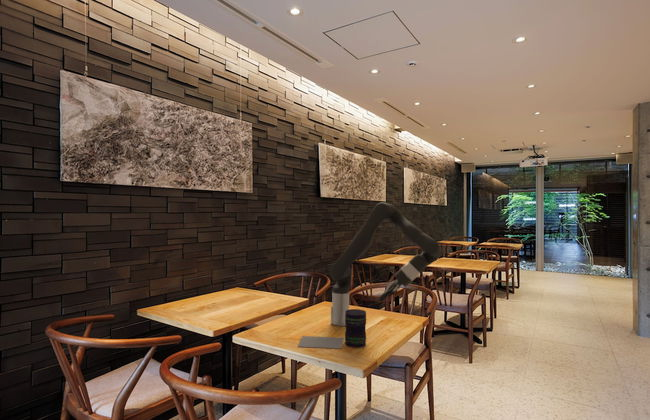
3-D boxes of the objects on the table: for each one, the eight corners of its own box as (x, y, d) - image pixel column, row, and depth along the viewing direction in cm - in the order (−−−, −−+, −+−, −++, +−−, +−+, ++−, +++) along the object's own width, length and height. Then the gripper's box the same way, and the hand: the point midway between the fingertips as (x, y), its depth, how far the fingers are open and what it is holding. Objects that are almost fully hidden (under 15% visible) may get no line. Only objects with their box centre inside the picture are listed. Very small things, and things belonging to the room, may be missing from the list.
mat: (297, 347, 167) (297, 346, 167) (302, 336, 181) (302, 336, 181) (341, 348, 165) (341, 348, 165) (343, 338, 179) (343, 337, 179)
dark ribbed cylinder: (342, 341, 175) (342, 309, 175) (361, 339, 178) (362, 308, 178) (348, 348, 166) (348, 315, 166) (369, 347, 168) (369, 314, 168)
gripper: (399, 266, 176) (373, 291, 178) (402, 270, 163) (374, 297, 164) (410, 277, 176) (384, 302, 177) (415, 282, 163) (386, 309, 164)
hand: (379, 300), depth 171 cm, fingers closed
